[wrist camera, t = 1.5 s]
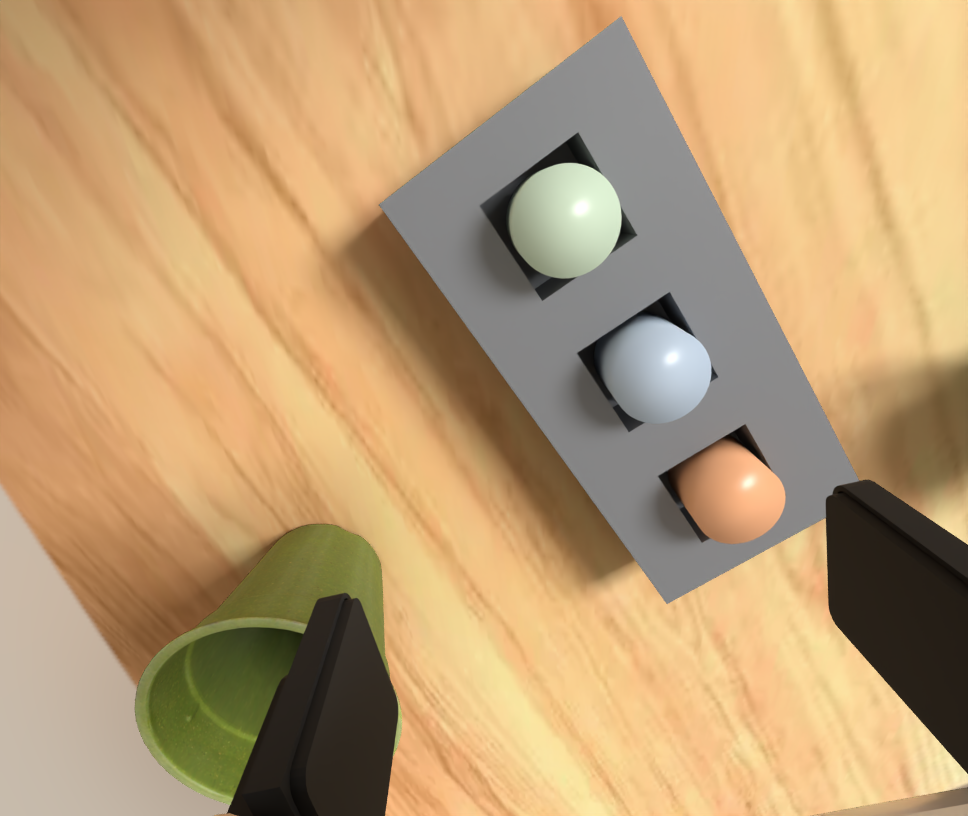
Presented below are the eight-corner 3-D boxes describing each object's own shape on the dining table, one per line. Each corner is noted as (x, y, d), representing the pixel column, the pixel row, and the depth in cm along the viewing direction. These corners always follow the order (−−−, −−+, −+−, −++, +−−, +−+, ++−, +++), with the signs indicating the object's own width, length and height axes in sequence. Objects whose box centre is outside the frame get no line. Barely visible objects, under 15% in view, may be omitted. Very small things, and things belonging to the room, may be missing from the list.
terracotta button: (725, 416, 30) (762, 448, 26) (760, 476, 31) (799, 514, 27) (653, 460, 31) (679, 496, 27) (690, 516, 32) (719, 558, 28)
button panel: (596, 45, 26) (621, 15, 22) (817, 458, 34) (866, 495, 29) (392, 203, 28) (378, 204, 24) (643, 556, 36) (666, 604, 32)
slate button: (653, 294, 27) (682, 308, 24) (694, 364, 29) (728, 389, 25) (577, 344, 28) (594, 366, 25) (620, 410, 30) (643, 441, 26)
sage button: (568, 147, 25) (585, 138, 21) (616, 231, 26) (641, 236, 23) (487, 206, 26) (490, 208, 22) (539, 285, 27) (550, 299, 23)
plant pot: (328, 670, 39) (276, 847, 28) (194, 560, 35) (77, 715, 25) (459, 578, 36) (454, 734, 26) (328, 451, 33) (261, 571, 22)
